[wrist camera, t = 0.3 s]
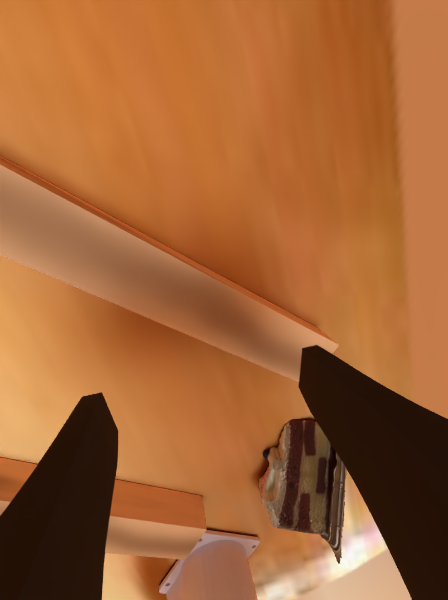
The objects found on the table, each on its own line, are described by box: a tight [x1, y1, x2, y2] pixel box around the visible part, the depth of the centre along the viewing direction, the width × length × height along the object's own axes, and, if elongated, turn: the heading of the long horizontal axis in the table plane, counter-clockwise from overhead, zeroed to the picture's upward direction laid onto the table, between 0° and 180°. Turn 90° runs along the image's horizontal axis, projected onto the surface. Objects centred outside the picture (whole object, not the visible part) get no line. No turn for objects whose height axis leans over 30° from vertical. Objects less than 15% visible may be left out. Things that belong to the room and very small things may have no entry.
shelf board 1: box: [0, 156, 339, 383], centre depth 16 cm, size 4×32×3 cm, turn 58°
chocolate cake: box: [259, 419, 346, 563], centre depth 27 cm, size 10×7×12 cm
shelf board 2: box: [0, 457, 207, 560], centre depth 20 cm, size 4×32×3 cm, turn 58°
